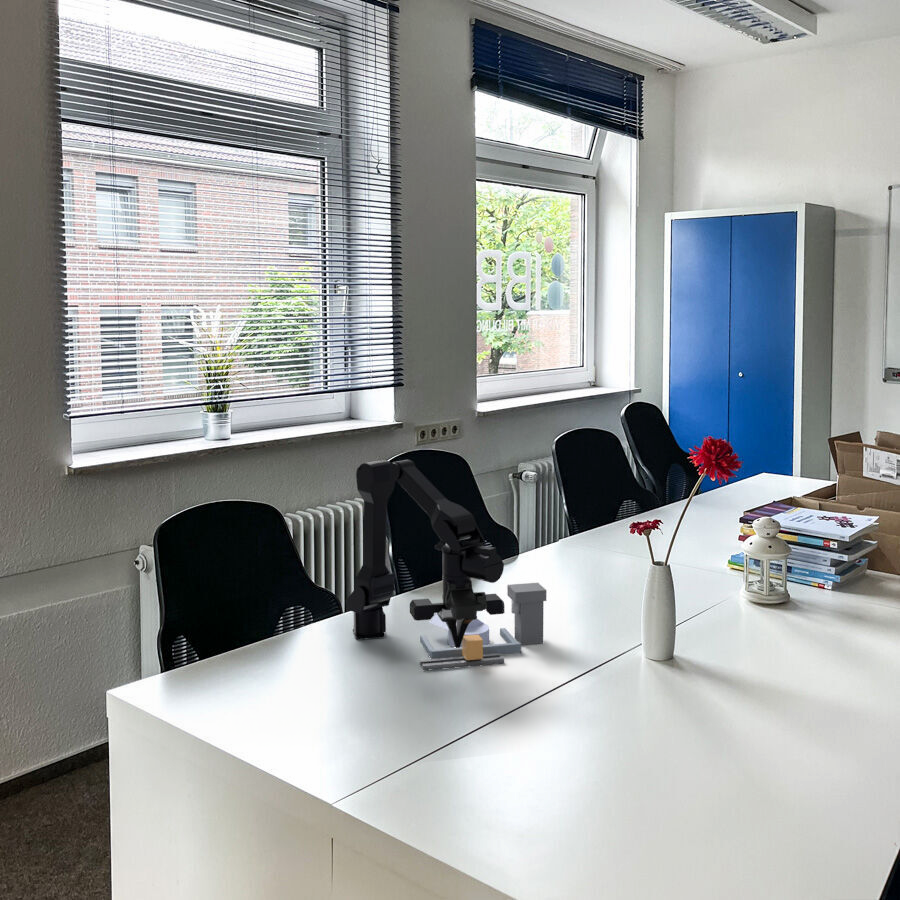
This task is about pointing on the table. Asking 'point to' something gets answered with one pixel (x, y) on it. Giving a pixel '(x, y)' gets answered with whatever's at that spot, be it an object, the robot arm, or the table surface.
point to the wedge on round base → (473, 629)
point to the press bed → (526, 624)
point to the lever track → (461, 662)
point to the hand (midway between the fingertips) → (457, 647)
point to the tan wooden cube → (472, 647)
